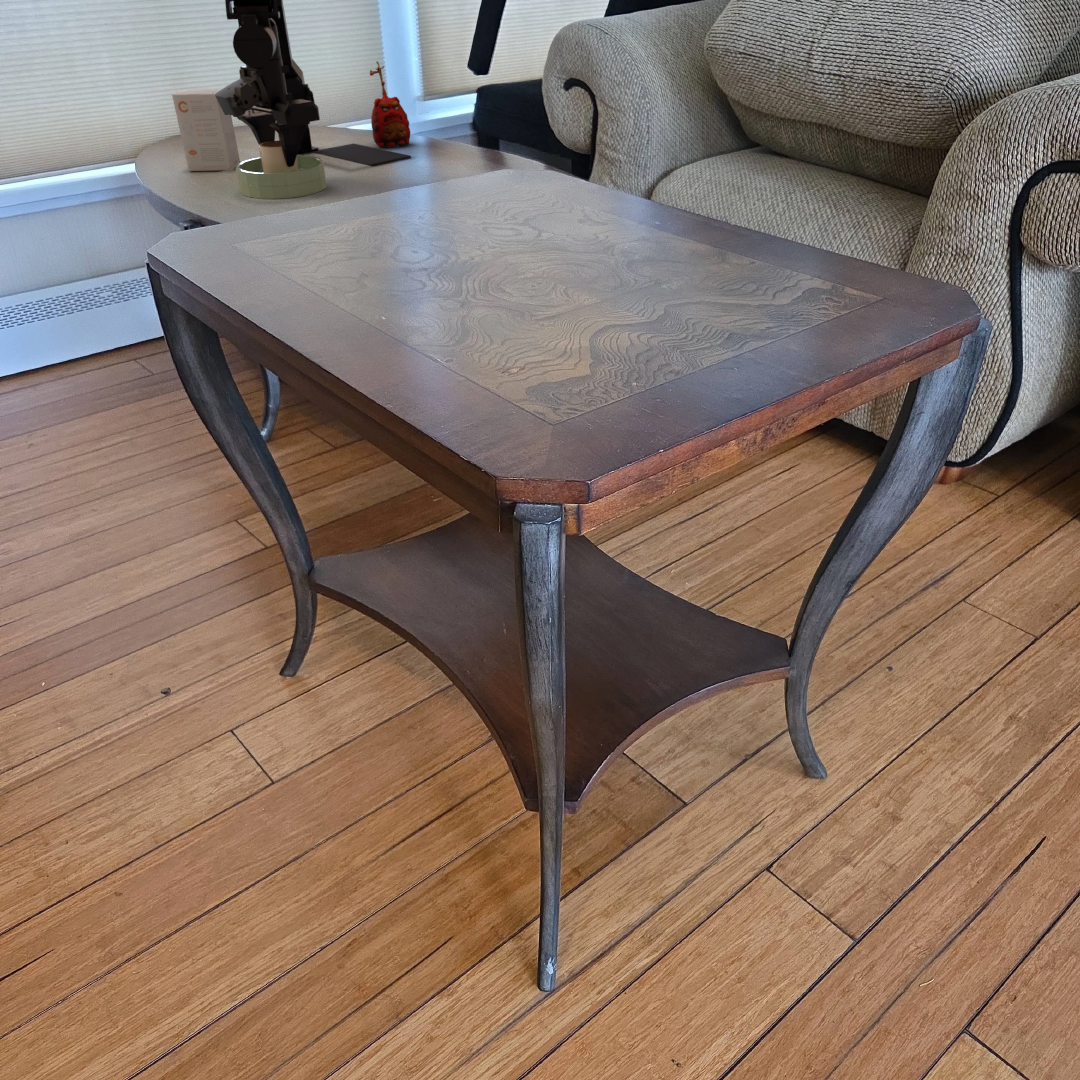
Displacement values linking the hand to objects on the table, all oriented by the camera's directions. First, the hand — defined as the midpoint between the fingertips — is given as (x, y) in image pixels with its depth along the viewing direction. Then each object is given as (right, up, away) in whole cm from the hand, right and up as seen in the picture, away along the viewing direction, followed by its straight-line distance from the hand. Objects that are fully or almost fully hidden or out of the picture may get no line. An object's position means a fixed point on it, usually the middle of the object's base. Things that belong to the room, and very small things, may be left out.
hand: (279, 163), depth 156 cm
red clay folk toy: (+13, +17, +33) cm, 40 cm away
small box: (-17, +7, +19) cm, 26 cm away
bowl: (0, -4, +2) cm, 4 cm away
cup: (0, -3, +2) cm, 4 cm away
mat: (+7, +11, +24) cm, 28 cm away
